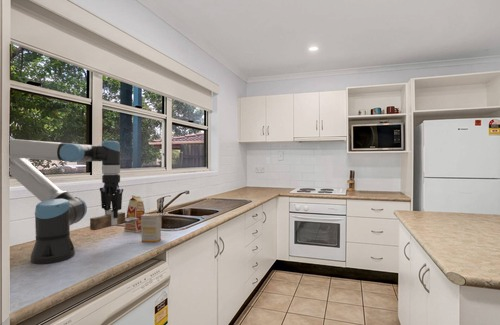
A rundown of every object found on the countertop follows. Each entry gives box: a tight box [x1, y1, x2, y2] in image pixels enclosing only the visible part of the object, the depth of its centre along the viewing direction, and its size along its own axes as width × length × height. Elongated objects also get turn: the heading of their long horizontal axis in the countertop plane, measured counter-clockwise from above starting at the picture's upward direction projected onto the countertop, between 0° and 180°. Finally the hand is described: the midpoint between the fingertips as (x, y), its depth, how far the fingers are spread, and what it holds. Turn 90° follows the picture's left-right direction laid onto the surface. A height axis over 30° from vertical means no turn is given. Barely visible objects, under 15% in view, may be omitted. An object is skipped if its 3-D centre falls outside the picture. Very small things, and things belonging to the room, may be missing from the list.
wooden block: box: [89, 211, 139, 231], centre depth 137 cm, size 23×6×5 cm, turn 153°
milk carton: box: [123, 195, 146, 233], centre depth 166 cm, size 9×9×20 cm
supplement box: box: [140, 213, 162, 243], centre depth 144 cm, size 8×5×13 cm, turn 84°
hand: (111, 224), depth 136 cm, fingers closed on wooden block, 3 cm apart
